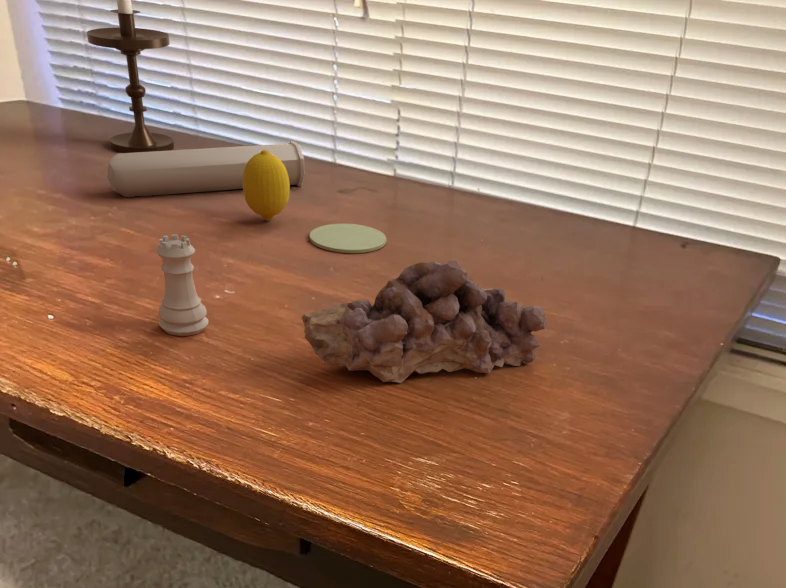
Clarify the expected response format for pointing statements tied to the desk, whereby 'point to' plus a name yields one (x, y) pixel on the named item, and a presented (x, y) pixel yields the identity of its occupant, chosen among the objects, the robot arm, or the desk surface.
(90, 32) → the candlestick
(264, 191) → the lemon
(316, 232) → the coaster
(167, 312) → the rook chess piece
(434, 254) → the desk surface
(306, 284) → the desk surface
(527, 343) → the mineral specimen
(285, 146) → the tube
